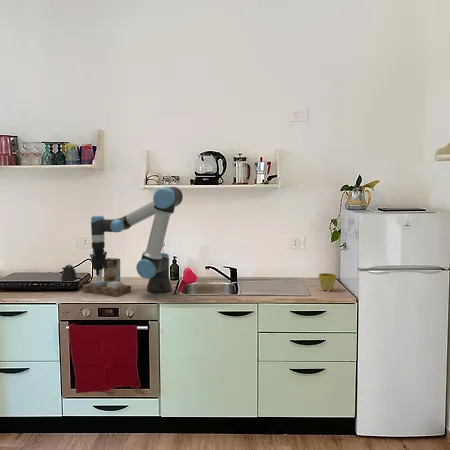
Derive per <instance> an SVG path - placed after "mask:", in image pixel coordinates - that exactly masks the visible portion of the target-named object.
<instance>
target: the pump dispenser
mask: <svg viewBox="0 0 450 450" xmlns="http://www.w3.org/2000/svg"><path fill="white" fill-rule="evenodd" d="M61 268H62V269H61V270H62V273H61V276H60V277H61V278H60V281H61V280H62V281H74V280H77V279H78V274H77V271H76V269H75V268H74V266H73V265H72V264H67V265H65V266H64V267H61Z"/></svg>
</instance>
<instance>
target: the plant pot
mask: <svg viewBox="0 0 450 450" xmlns="http://www.w3.org/2000/svg"><path fill="white" fill-rule="evenodd" d="M336 279H337V275H336V274H335V273H328V272H327V273H326V272H323V273H321V272H320V273H319V274H318V281H319V283H320V289H323V290H332V289H333V290H334V286H335V285H334V284H335V282H336ZM323 290H322V291H323ZM333 290H332V291H333Z"/></svg>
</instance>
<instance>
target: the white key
mask: <svg viewBox="0 0 450 450" xmlns="http://www.w3.org/2000/svg"><path fill="white" fill-rule="evenodd" d="M122 285H123V283H122V281H120V282H117V281H112V282H109V283H107V287H110V288H118V287H121V286H122Z"/></svg>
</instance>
